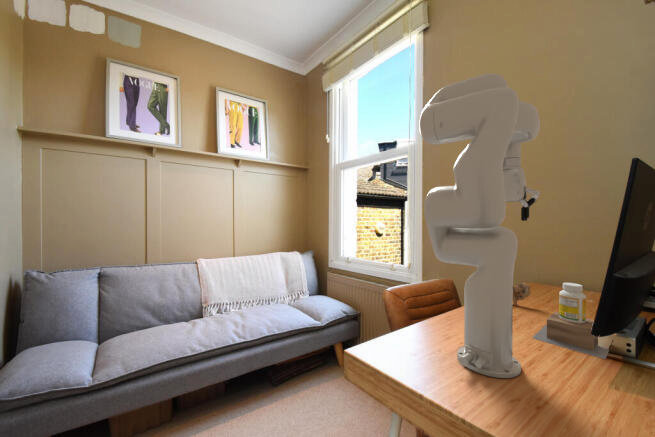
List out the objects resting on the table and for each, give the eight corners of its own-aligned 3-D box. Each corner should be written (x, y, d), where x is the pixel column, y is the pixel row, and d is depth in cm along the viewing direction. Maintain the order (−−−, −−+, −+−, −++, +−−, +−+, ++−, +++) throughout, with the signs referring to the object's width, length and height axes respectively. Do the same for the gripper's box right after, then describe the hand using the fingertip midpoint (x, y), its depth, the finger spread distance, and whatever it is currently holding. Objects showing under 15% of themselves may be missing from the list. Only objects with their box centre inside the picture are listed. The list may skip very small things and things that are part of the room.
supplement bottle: (569, 323, 70) (569, 286, 70) (553, 316, 76) (554, 281, 76) (591, 324, 70) (591, 287, 70) (574, 316, 75) (575, 282, 75)
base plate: (605, 362, 63) (605, 359, 62) (531, 340, 73) (531, 338, 73) (613, 342, 73) (613, 339, 73) (547, 325, 83) (547, 323, 83)
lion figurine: (531, 307, 100) (531, 282, 100) (529, 311, 96) (529, 285, 96) (486, 299, 110) (486, 277, 110) (483, 302, 106) (483, 279, 106)
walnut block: (592, 350, 67) (592, 329, 67) (546, 337, 74) (546, 319, 74) (598, 339, 72) (598, 320, 72) (555, 328, 79) (555, 311, 79)
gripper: (472, 168, 90) (472, 220, 90) (536, 160, 77) (536, 221, 77) (481, 170, 95) (481, 220, 95) (543, 163, 81) (543, 220, 81)
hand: (506, 220), depth 86 cm, fingers open, 9 cm apart
